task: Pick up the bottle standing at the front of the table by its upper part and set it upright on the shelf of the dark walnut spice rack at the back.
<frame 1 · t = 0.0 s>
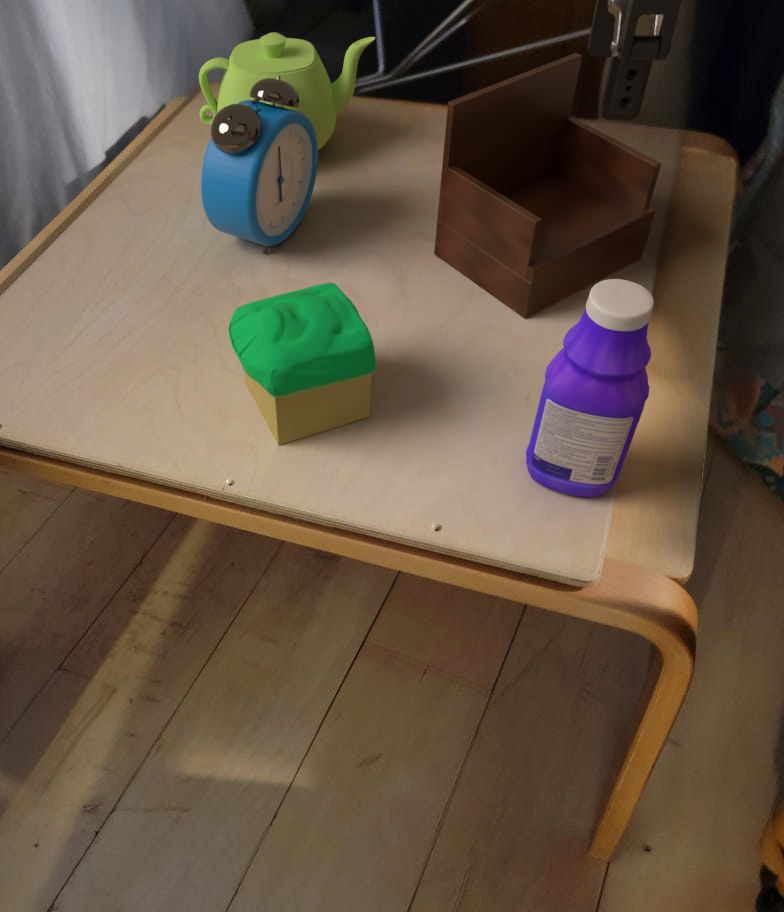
hand: (610, 84, 57), 28 cm above the table, tool pointing down, fingers open, 8 cm apart
spice rack: (537, 256, 91), on the table
bottle: (569, 475, 72), on the table
teapot: (287, 146, 108), on the table
alarm clock: (264, 233, 96), on the table
cake: (301, 402, 78), on the table
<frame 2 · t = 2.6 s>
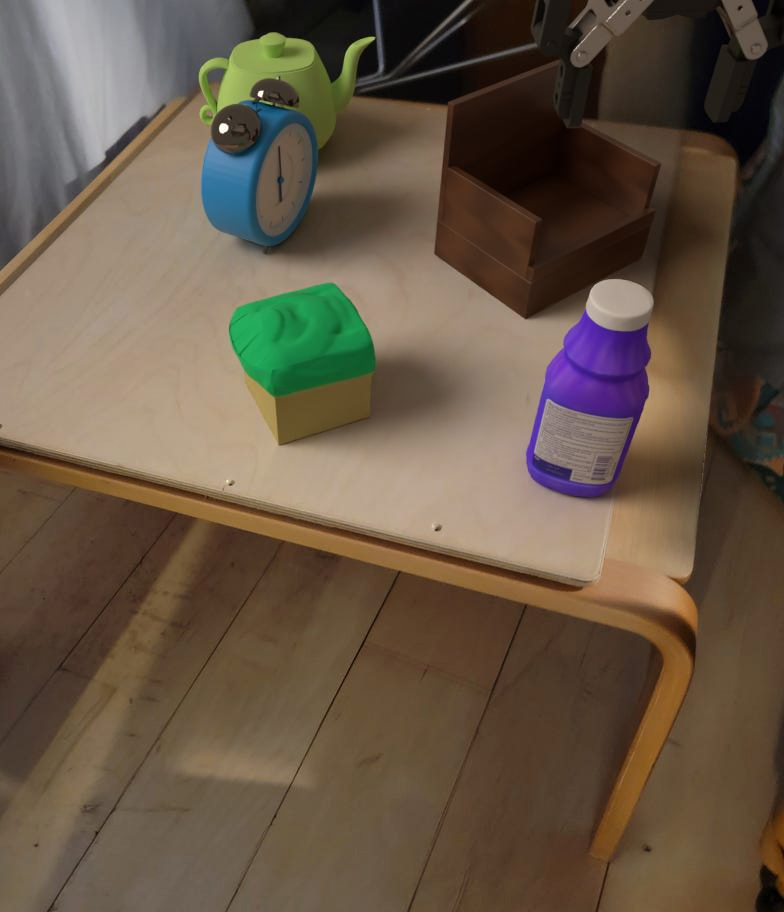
hand: (642, 119, 53), 28 cm above the table, tool pointing down, fingers open, 8 cm apart
nothing on the table moved.
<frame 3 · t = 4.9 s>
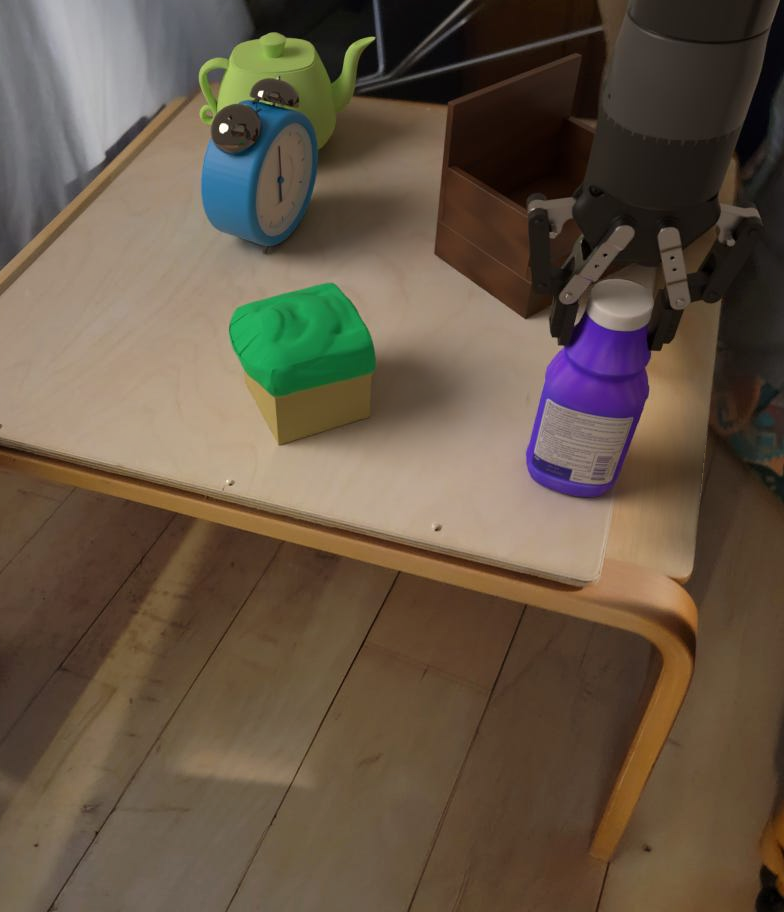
hand: (607, 339, 62), 14 cm above the table, tool pointing down, fingers closed on bottle, 5 cm apart
bottle: (569, 475, 72), on the table, touching gripper
everything else where it was.
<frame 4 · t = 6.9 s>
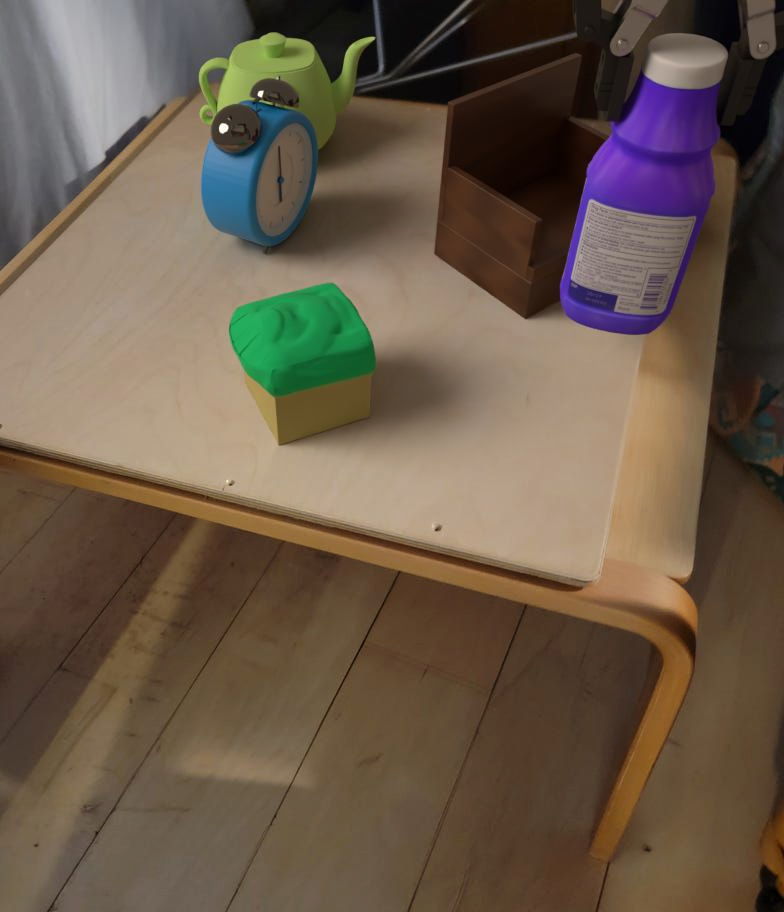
hand: (666, 115, 50), 29 cm above the table, tool pointing down, fingers closed on bottle, 5 cm apart
bottle: (611, 314, 60), point 16 cm above the table, touching gripper
everything else where it was.
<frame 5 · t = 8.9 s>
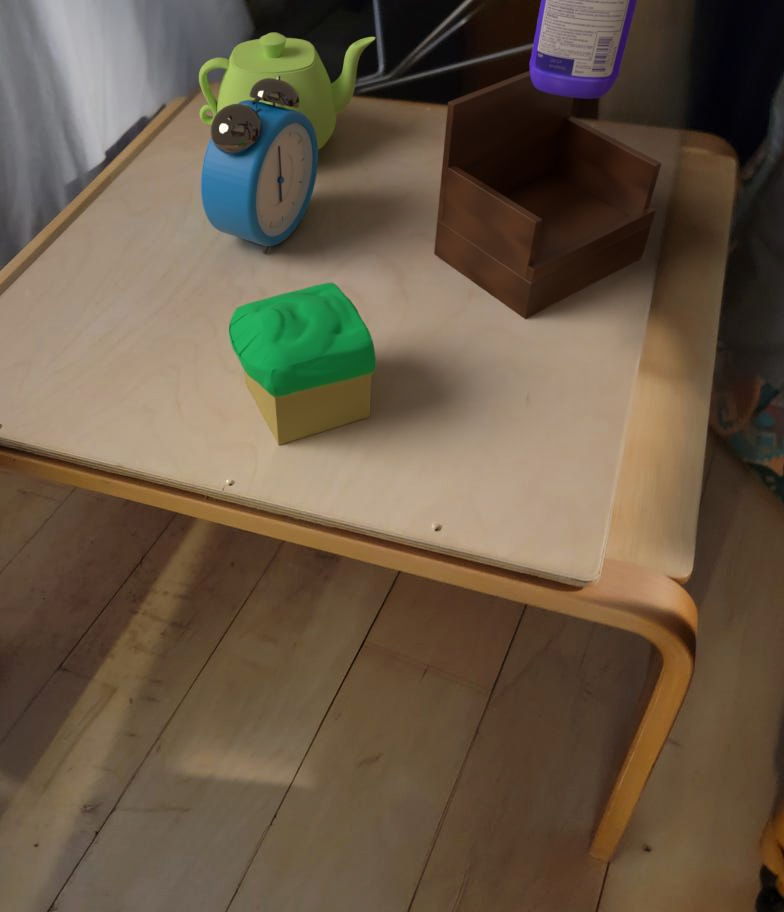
bottle: (570, 88, 75), point 19 cm above the table, touching gripper
everything else where it was.
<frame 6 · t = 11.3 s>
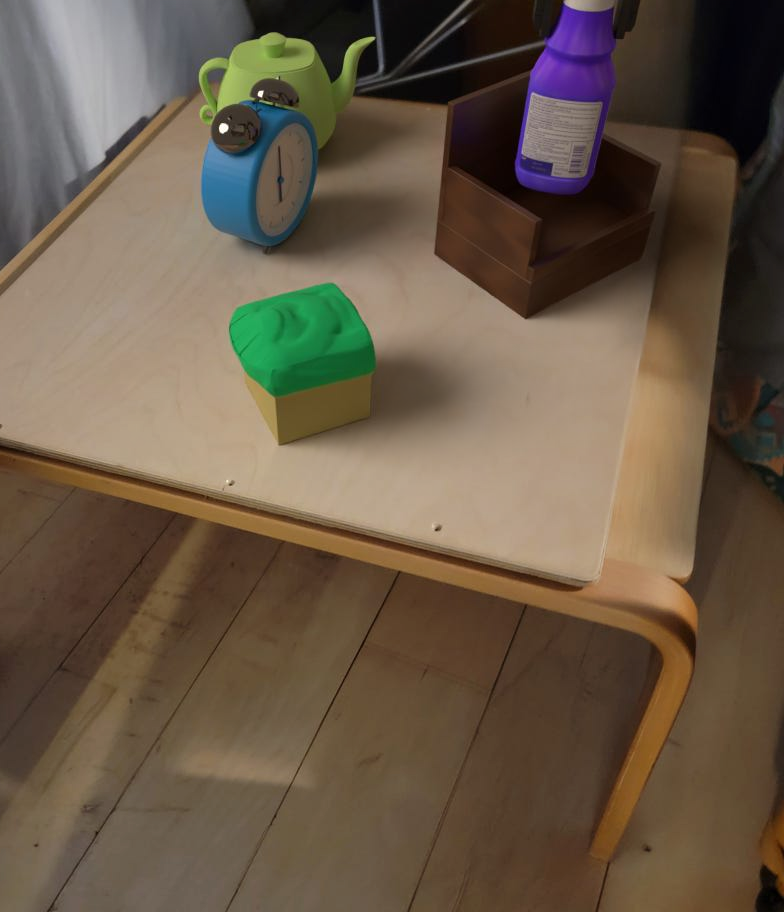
hand: (580, 33, 75), 22 cm above the table, tool pointing down, fingers closed on bottle, 5 cm apart
bottle: (551, 183, 85), point 8 cm above the table, touching gripper
everything else where it was.
when the fingers open (18 cm above the table, at t = 12.9 s): bottle stays where it is, resting on spice rack.
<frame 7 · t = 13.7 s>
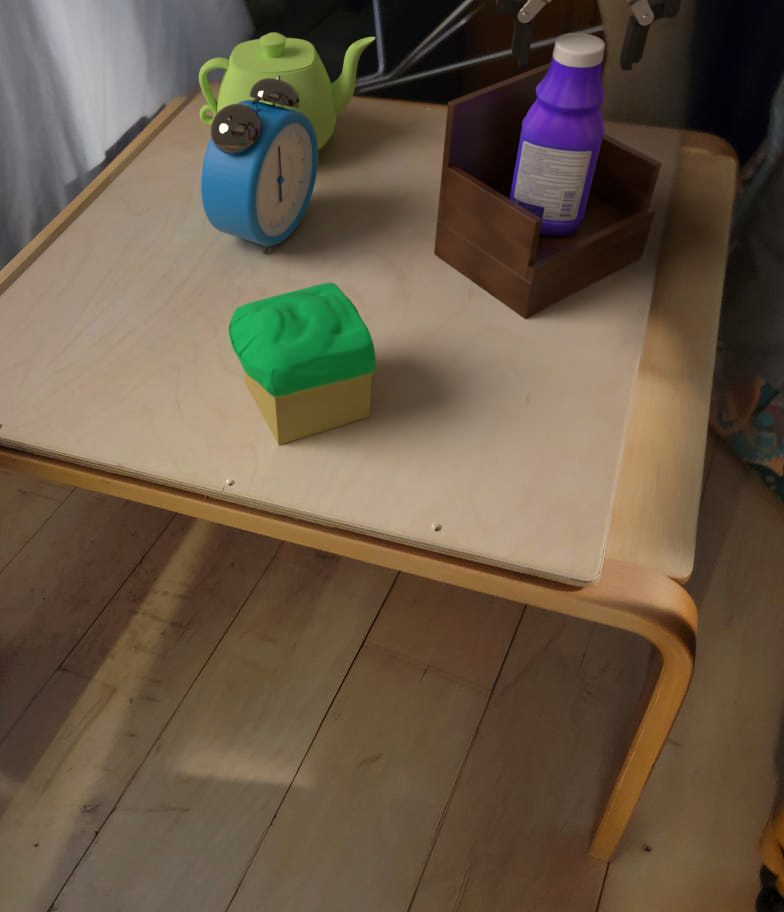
hand: (573, 64, 77), 19 cm above the table, tool pointing down, fingers open, 8 cm apart
bottle: (543, 224, 88), point 4 cm above the table, touching spice rack
everything else where it was.
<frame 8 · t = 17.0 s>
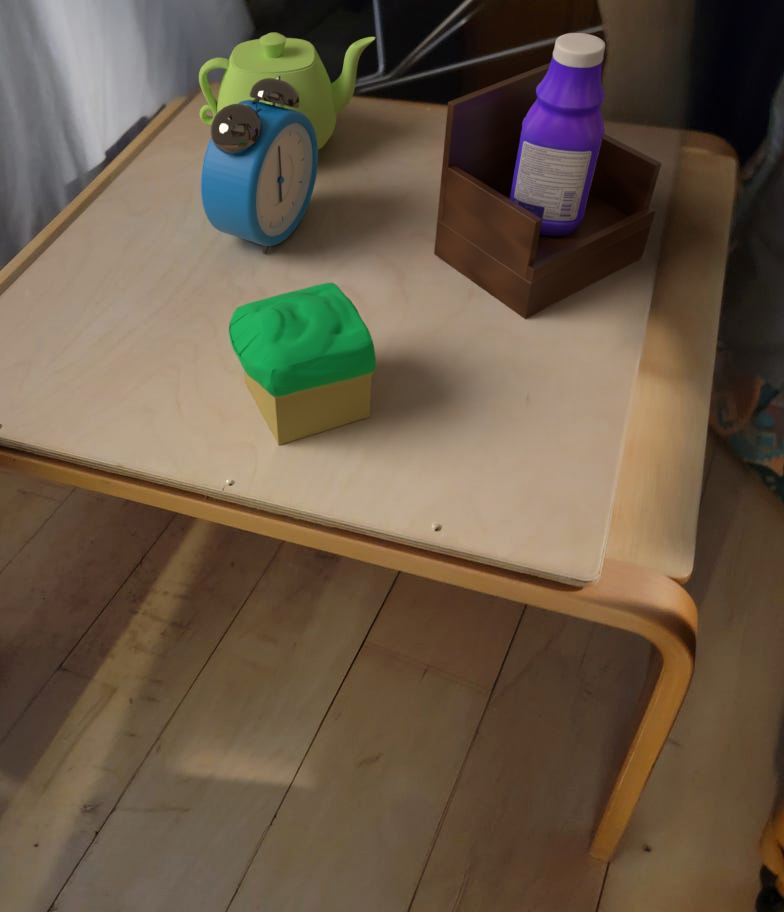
nothing on the table moved.
at the end: bottle inside the target area on the spice rack (0.3 cm from its centre), point 3.8 cm above the spice rack's base; bottle tilted 0°; the gripper is holding nothing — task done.
